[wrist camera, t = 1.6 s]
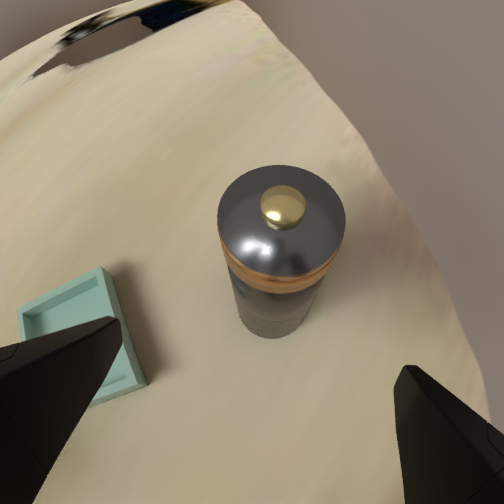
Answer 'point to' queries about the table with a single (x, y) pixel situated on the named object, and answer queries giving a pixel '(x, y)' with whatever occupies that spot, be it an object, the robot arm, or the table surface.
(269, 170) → the lidded jar
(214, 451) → the table surface
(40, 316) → the tray
